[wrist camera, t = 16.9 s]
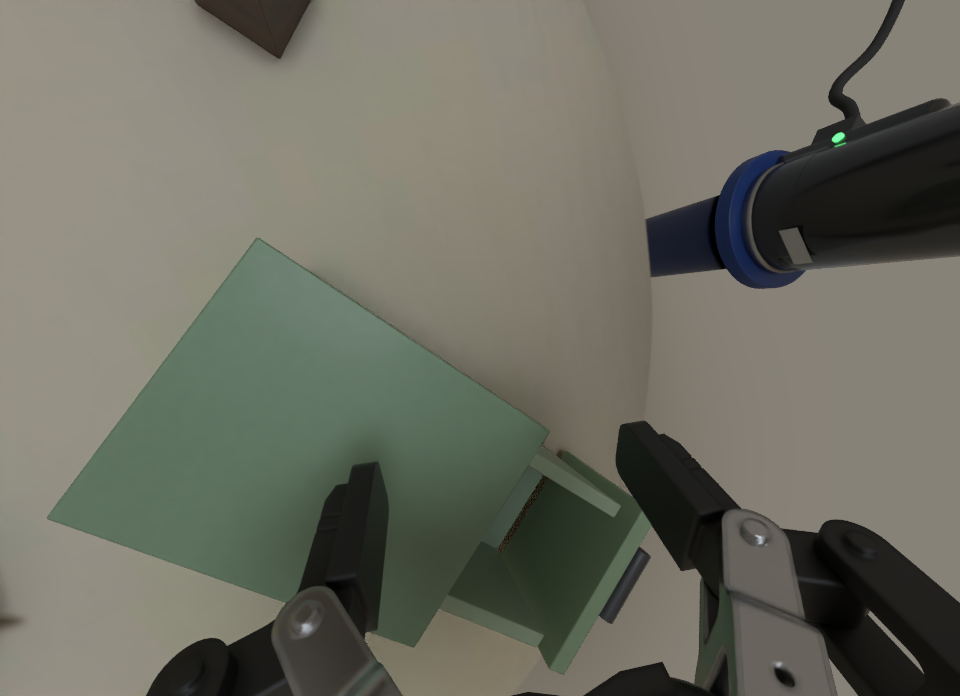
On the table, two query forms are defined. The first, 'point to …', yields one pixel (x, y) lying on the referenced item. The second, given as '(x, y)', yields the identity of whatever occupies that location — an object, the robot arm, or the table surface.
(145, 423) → the cabinet
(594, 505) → the drawer
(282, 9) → the block
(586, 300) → the table surface
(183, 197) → the table surface
